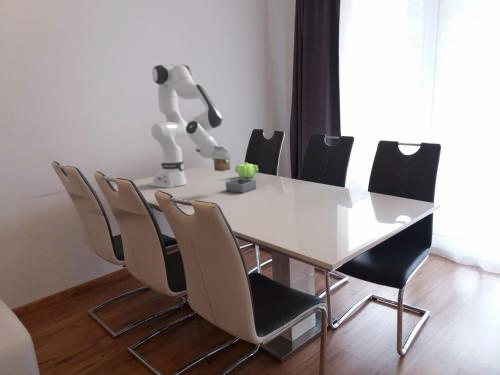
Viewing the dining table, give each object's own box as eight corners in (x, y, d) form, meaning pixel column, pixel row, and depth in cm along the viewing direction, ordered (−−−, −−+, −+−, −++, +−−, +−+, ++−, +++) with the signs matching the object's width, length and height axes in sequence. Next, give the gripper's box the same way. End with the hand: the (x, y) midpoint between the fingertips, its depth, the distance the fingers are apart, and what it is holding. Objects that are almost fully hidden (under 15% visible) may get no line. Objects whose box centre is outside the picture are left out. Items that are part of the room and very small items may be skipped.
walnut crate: (214, 170, 223) (213, 155, 222) (221, 168, 228) (221, 154, 226) (222, 171, 220) (221, 156, 218) (230, 169, 224) (229, 154, 222)
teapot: (259, 177, 260) (258, 162, 257) (244, 180, 254) (243, 165, 252) (249, 175, 269) (248, 160, 267) (234, 177, 264) (233, 162, 261)
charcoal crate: (226, 190, 230) (225, 182, 229) (239, 186, 239) (239, 178, 238) (242, 193, 223) (242, 184, 222) (256, 188, 232) (255, 180, 231)
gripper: (226, 142, 208) (239, 158, 218) (198, 140, 221) (211, 155, 231) (220, 152, 206) (234, 167, 216) (192, 149, 219) (206, 164, 228)
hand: (222, 161), depth 223 cm, fingers closed on walnut crate, 6 cm apart
